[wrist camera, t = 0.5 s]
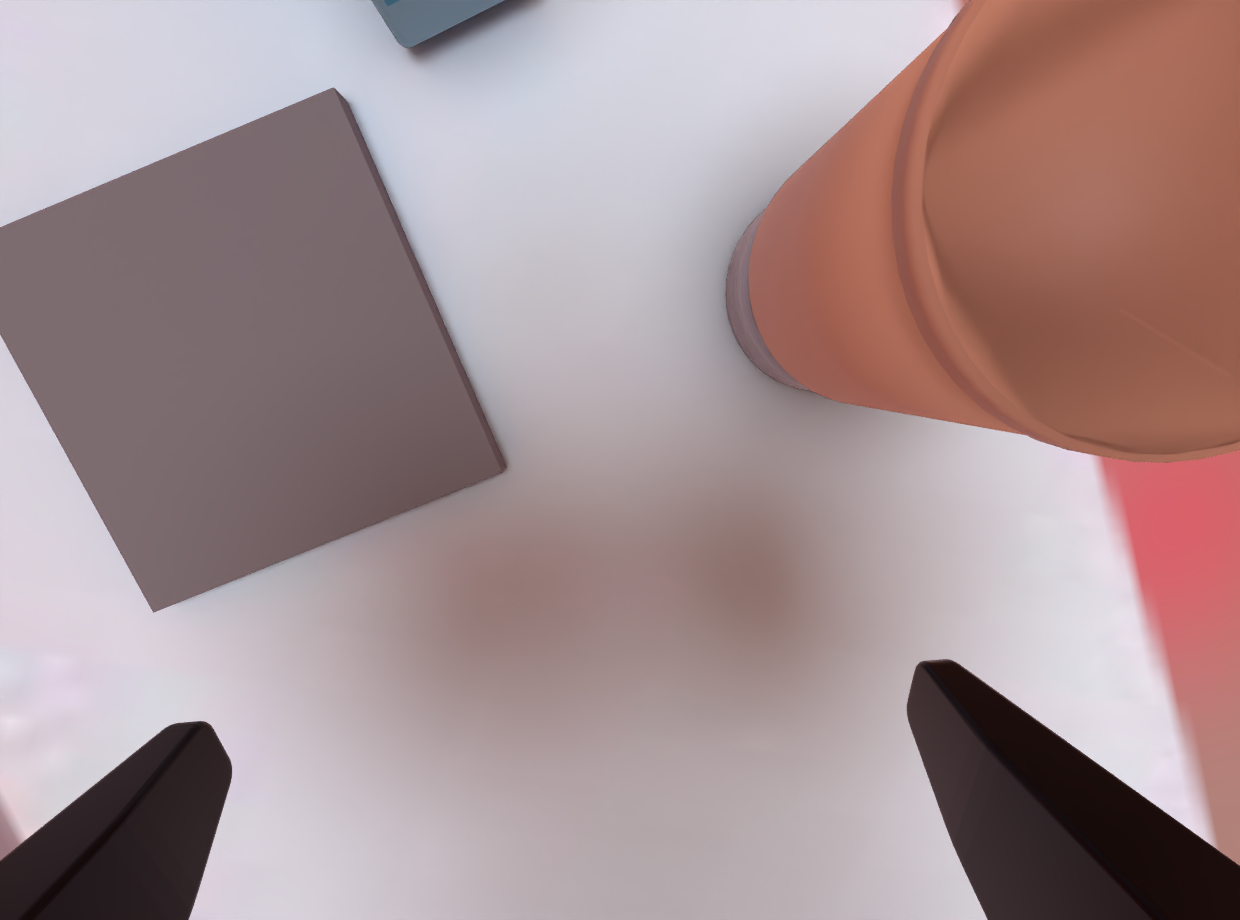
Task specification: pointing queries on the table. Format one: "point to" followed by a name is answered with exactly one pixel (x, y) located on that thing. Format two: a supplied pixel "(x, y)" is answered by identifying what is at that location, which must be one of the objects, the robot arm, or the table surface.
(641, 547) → the table surface
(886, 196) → the terracotta canister
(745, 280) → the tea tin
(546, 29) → the table surface
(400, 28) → the data package
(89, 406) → the charcoal mat
